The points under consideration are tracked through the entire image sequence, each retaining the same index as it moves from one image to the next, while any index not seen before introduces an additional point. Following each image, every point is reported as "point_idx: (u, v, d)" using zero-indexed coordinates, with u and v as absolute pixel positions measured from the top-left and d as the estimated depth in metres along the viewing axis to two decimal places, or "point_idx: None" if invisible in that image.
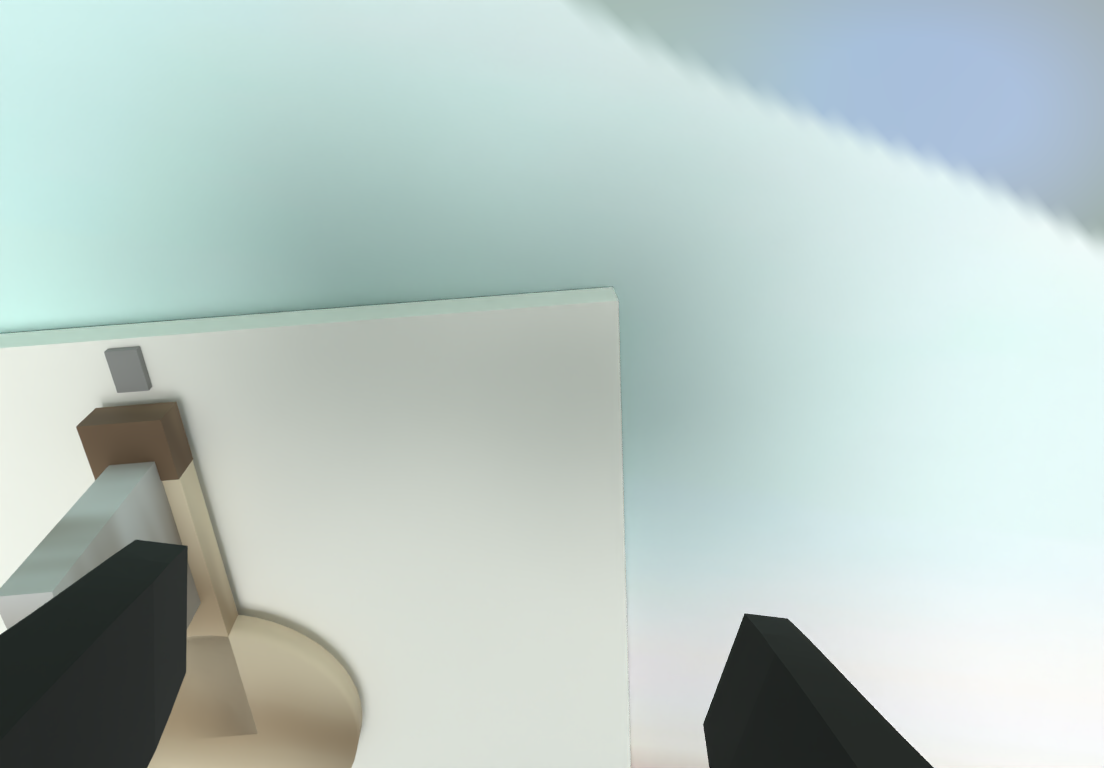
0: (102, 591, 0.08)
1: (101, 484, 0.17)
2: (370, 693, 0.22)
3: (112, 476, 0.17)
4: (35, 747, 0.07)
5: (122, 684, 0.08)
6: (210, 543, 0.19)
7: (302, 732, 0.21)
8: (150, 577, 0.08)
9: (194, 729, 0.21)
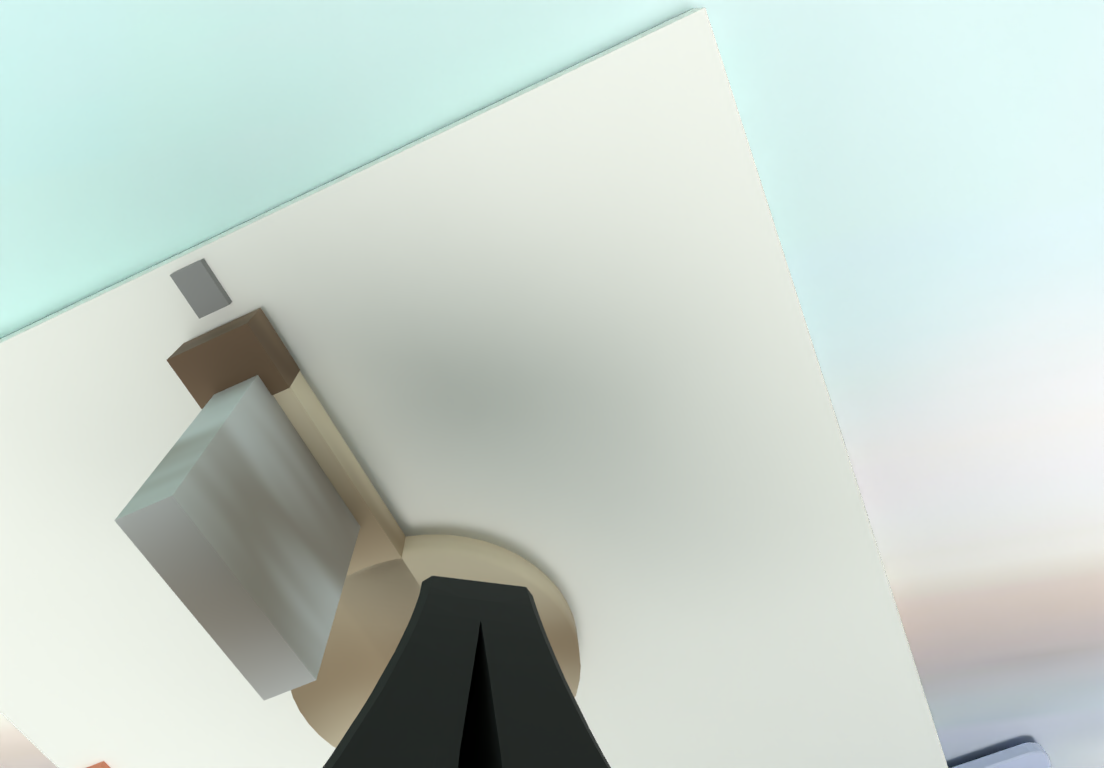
0: (445, 630, 0.08)
1: (209, 408, 0.15)
2: (574, 590, 0.19)
3: (218, 399, 0.15)
4: None
5: None
6: (349, 459, 0.17)
7: None
8: (474, 615, 0.09)
9: None
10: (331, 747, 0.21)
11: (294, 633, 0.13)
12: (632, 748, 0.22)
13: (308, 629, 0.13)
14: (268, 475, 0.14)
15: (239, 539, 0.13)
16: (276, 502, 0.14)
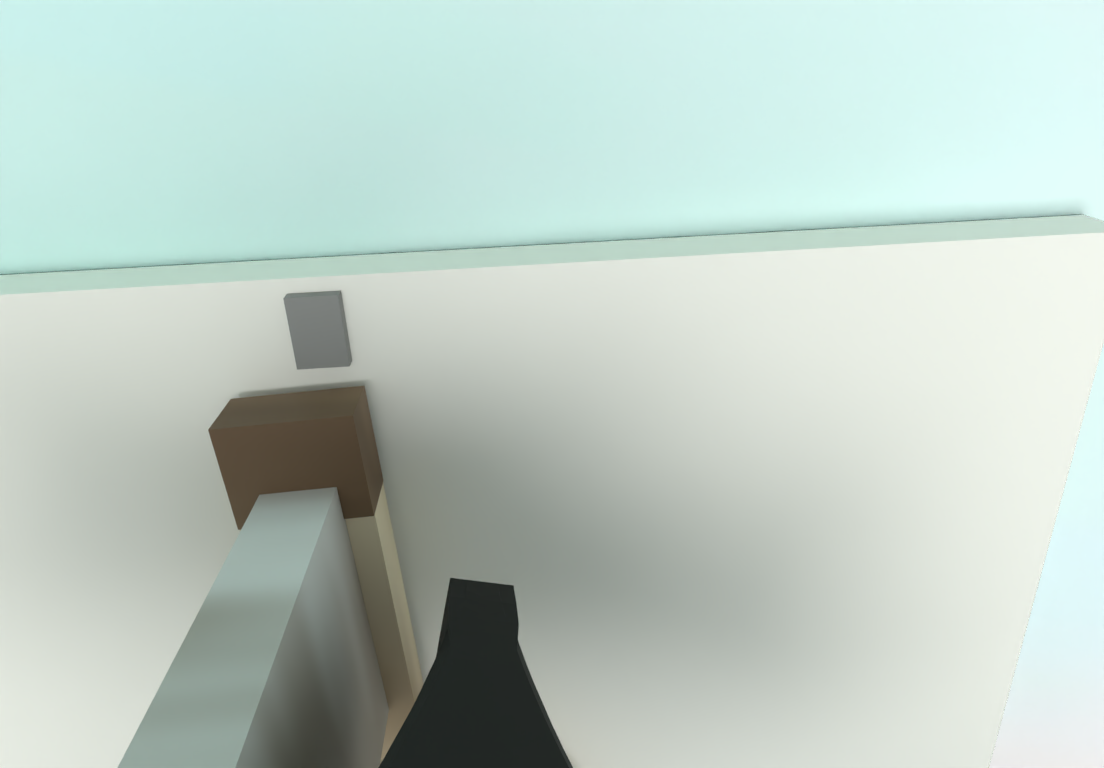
0: (485, 634, 0.08)
1: (258, 529, 0.09)
2: None
3: (272, 514, 0.10)
4: None
5: None
6: (404, 615, 0.12)
7: None
8: (512, 619, 0.09)
9: None
10: None
11: None
12: None
13: None
14: (327, 667, 0.09)
15: None
16: (329, 715, 0.09)
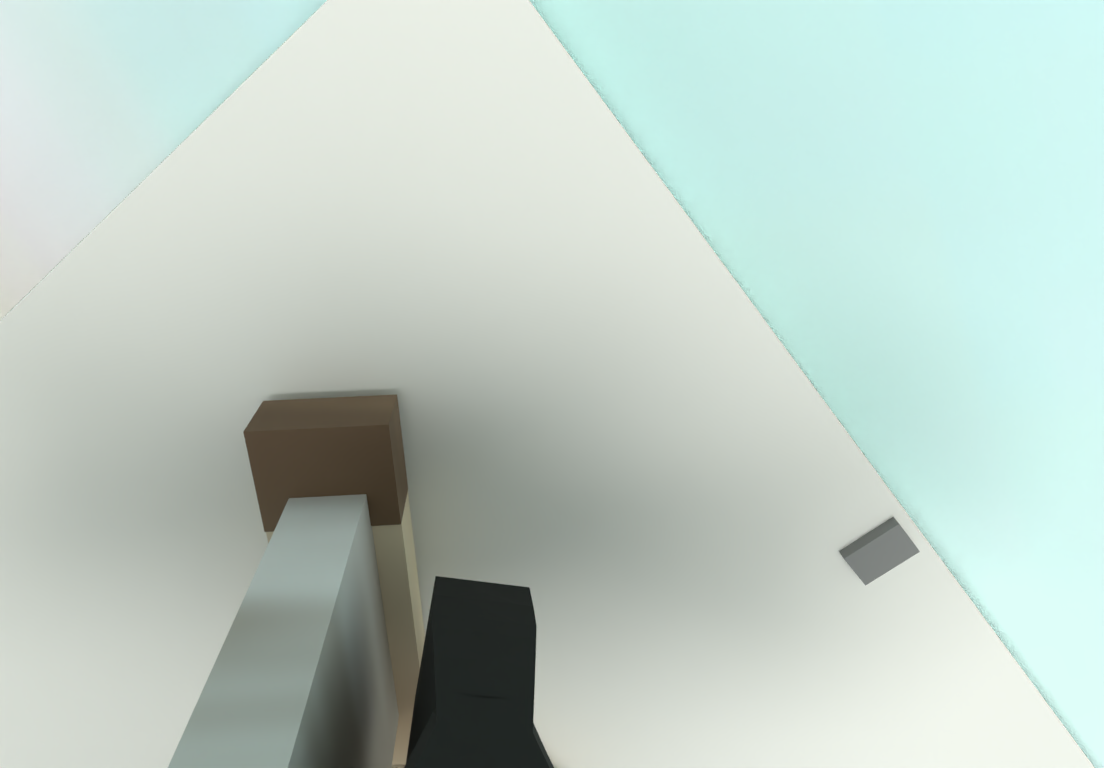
0: (504, 636, 0.09)
1: (290, 534, 0.09)
2: None
3: (303, 519, 0.10)
4: None
5: None
6: (420, 622, 0.12)
7: None
8: (529, 621, 0.09)
9: None
10: None
11: None
12: None
13: None
14: (355, 673, 0.09)
15: None
16: (355, 722, 0.09)
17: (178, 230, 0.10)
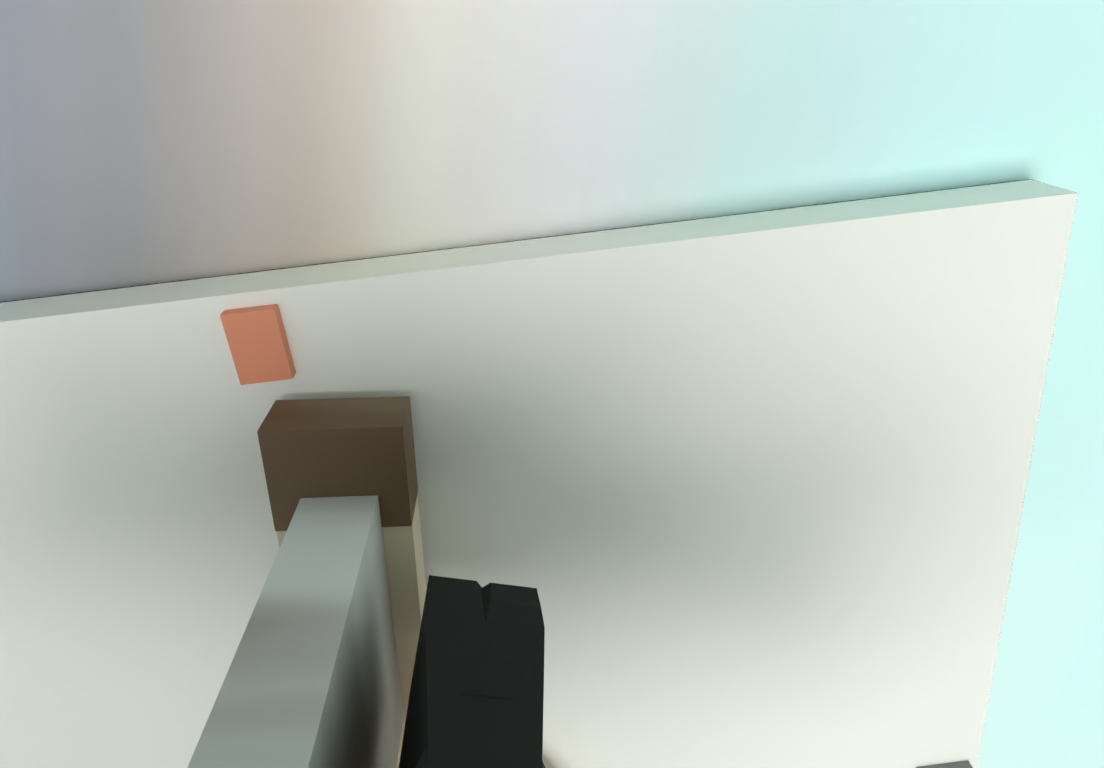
0: (512, 637, 0.09)
1: (303, 534, 0.09)
2: None
3: (316, 519, 0.10)
4: None
5: None
6: None
7: None
8: (537, 622, 0.09)
9: None
10: None
11: None
12: None
13: None
14: (367, 675, 0.09)
15: None
16: (365, 723, 0.09)
17: (697, 287, 0.11)
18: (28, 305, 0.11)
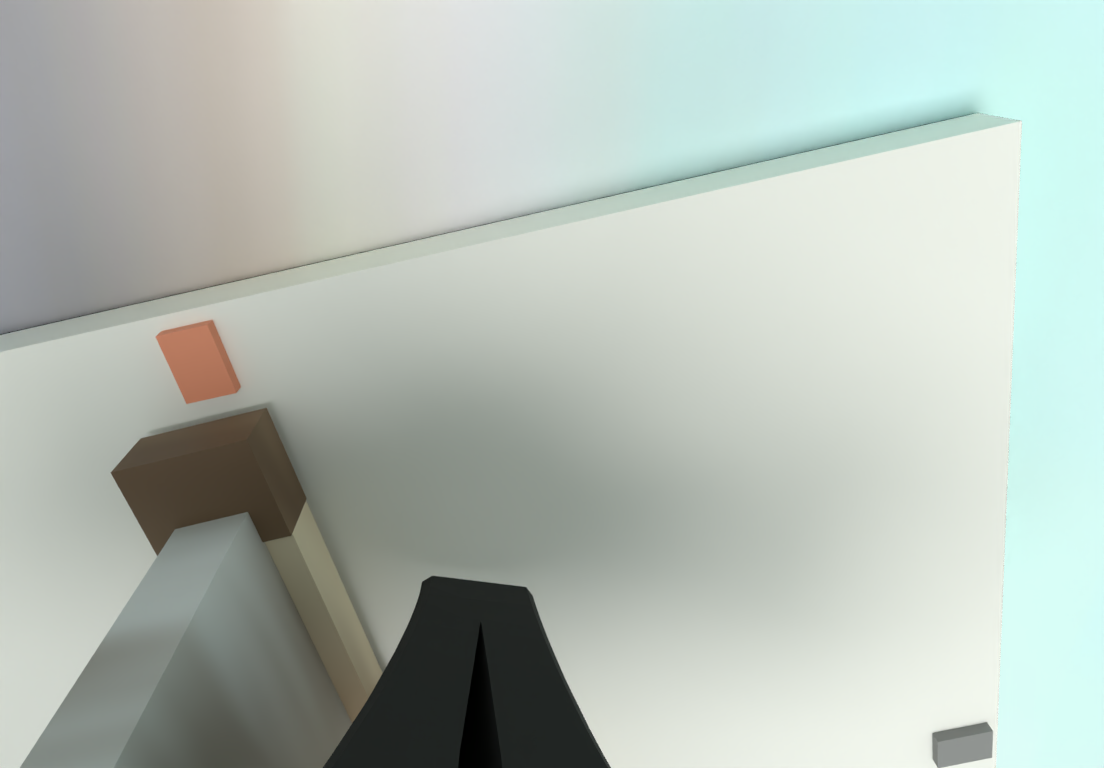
0: (445, 630, 0.08)
1: (166, 564, 0.10)
2: None
3: (183, 547, 0.10)
4: None
5: None
6: (352, 628, 0.12)
7: None
8: (474, 615, 0.09)
9: None
10: None
11: None
12: None
13: None
14: (245, 692, 0.09)
15: None
16: (251, 739, 0.09)
17: (633, 260, 0.10)
18: None
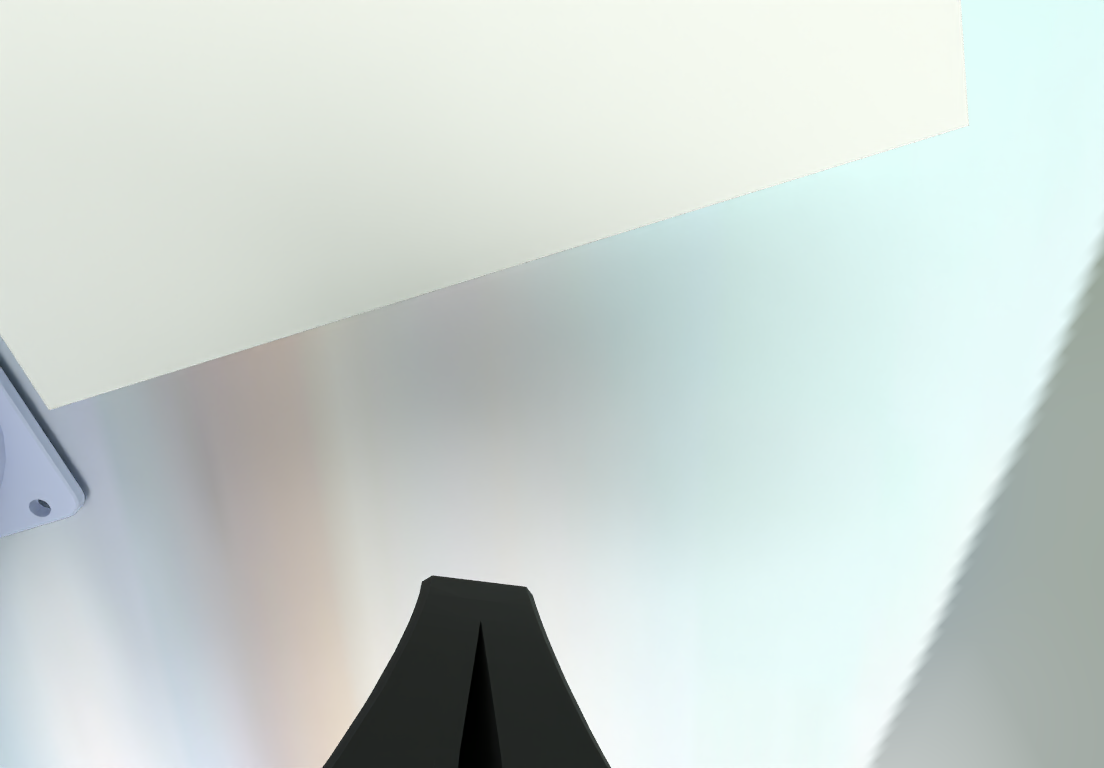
0: (445, 630, 0.08)
1: None
2: None
3: None
4: None
5: None
6: None
7: None
8: (474, 614, 0.09)
9: None
10: None
11: None
12: None
13: None
14: None
15: None
16: None
17: None
18: None
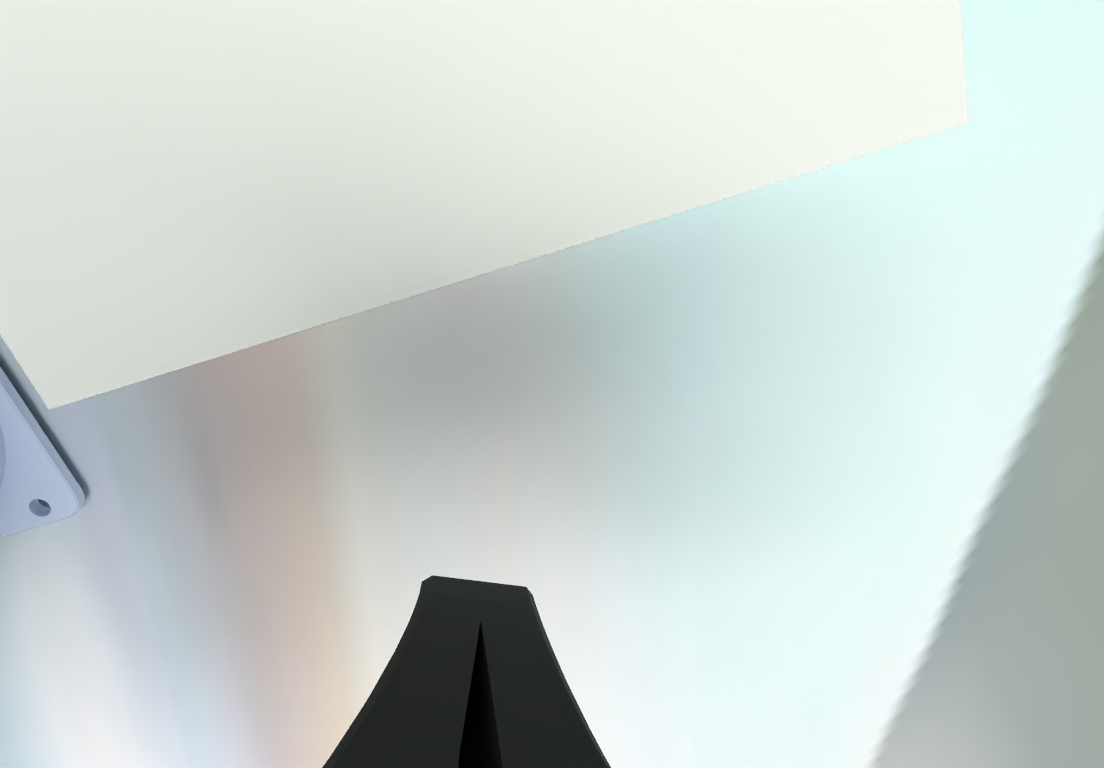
0: (445, 630, 0.08)
1: None
2: None
3: None
4: None
5: None
6: None
7: None
8: (474, 615, 0.09)
9: None
10: None
11: None
12: None
13: None
14: None
15: None
16: None
17: None
18: None
